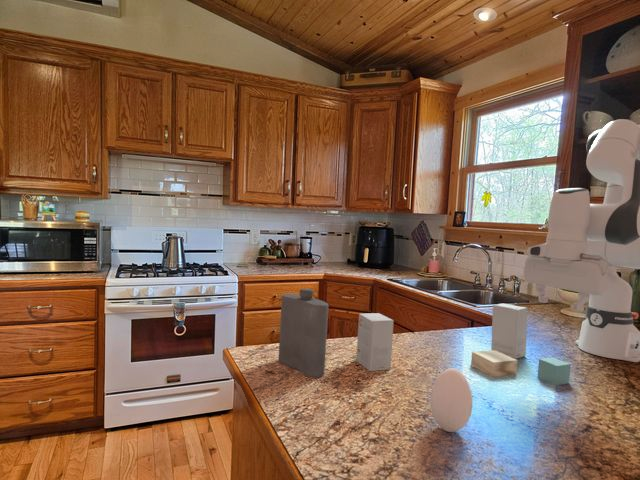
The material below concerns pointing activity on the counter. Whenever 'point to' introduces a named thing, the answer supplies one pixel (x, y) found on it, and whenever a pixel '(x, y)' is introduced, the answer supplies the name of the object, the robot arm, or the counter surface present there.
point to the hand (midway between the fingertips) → (559, 306)
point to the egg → (451, 400)
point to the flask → (303, 333)
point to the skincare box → (509, 330)
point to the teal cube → (554, 371)
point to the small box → (374, 341)
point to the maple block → (494, 363)
